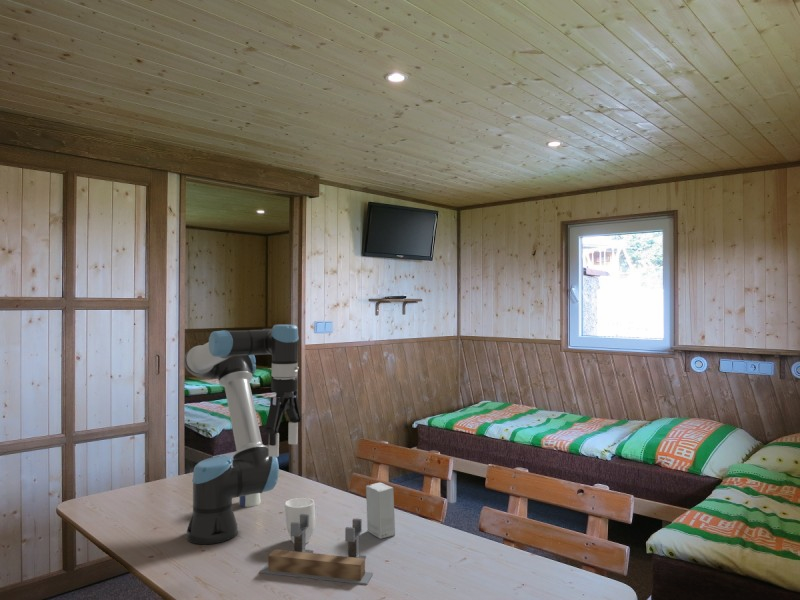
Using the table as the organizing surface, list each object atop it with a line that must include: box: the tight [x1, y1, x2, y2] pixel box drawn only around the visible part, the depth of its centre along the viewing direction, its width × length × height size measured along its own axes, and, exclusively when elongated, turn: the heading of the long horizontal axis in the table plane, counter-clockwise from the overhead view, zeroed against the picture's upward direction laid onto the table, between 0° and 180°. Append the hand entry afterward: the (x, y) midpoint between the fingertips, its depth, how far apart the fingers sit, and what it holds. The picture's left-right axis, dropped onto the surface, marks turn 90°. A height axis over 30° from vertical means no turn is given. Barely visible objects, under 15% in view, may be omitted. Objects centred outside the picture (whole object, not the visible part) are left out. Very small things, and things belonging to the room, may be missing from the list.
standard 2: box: [344, 518, 367, 560], centre depth 159 cm, size 5×8×11 cm, turn 167°
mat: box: [259, 562, 374, 586], centre depth 153 cm, size 30×6×1 cm, turn 77°
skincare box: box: [365, 482, 396, 540], centre depth 180 cm, size 8×6×15 cm
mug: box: [284, 497, 318, 545], centre depth 175 cm, size 12×9×12 cm
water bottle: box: [238, 493, 261, 508], centre depth 207 cm, size 8×8×25 cm
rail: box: [267, 548, 366, 581], centre depth 153 cm, size 26×4×4 cm, turn 77°
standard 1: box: [291, 514, 314, 553], centre depth 162 cm, size 5×8×11 cm, turn 167°
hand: (283, 450), depth 166 cm, fingers open, 13 cm apart
